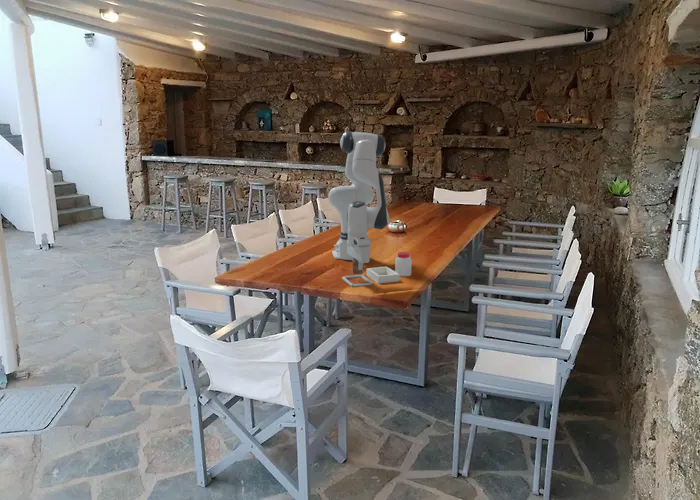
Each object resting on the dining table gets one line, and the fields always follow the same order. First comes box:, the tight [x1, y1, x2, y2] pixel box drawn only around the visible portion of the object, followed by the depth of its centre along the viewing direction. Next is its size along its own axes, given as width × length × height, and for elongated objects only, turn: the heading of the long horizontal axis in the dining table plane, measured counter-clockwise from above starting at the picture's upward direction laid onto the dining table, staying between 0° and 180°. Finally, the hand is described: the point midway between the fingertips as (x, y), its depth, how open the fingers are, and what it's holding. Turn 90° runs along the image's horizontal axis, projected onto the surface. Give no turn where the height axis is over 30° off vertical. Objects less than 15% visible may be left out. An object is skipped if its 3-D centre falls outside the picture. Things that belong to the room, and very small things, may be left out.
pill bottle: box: [394, 251, 413, 277], centre depth 254 cm, size 8×8×11 cm
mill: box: [352, 258, 364, 275], centre depth 242 cm, size 4×4×6 cm
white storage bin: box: [365, 266, 400, 284], centre depth 248 cm, size 14×10×4 cm
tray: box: [341, 274, 374, 288], centre depth 244 cm, size 14×10×2 cm
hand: (357, 268), depth 242 cm, fingers closed on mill, 4 cm apart
